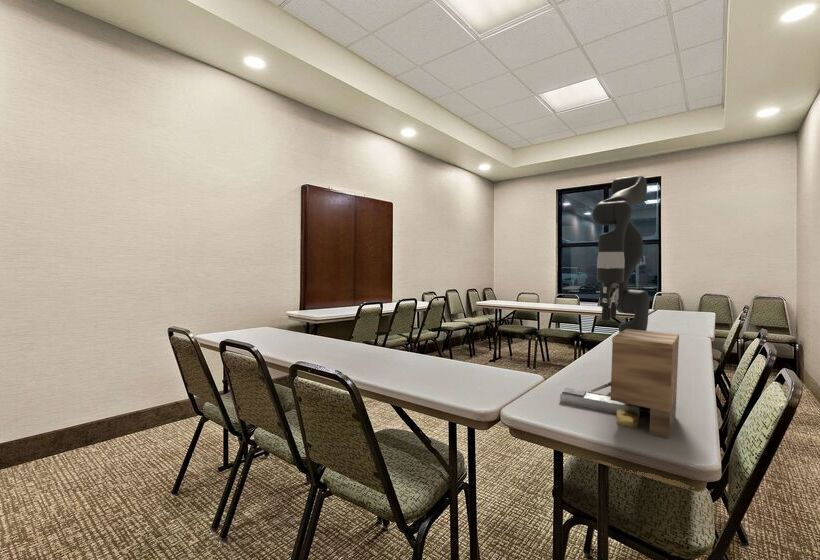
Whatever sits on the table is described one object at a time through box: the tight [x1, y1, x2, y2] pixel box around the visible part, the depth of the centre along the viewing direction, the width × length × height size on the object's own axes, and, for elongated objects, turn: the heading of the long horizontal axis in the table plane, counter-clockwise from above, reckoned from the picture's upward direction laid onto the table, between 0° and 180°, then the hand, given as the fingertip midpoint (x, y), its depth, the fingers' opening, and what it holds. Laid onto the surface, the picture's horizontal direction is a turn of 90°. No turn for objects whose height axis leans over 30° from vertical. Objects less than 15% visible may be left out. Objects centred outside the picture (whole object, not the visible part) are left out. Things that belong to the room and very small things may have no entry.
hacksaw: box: [587, 381, 611, 397], centre depth 129 cm, size 24×10×2 cm, turn 128°
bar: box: [559, 387, 641, 418], centre depth 115 cm, size 6×21×4 cm, turn 56°
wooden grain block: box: [610, 329, 680, 440], centre depth 104 cm, size 19×13×23 cm
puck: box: [615, 410, 639, 429], centre depth 102 cm, size 5×5×3 cm
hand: (609, 318), depth 120 cm, fingers open, 8 cm apart
